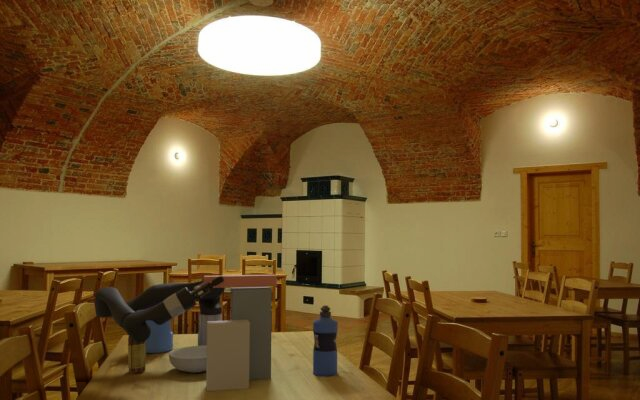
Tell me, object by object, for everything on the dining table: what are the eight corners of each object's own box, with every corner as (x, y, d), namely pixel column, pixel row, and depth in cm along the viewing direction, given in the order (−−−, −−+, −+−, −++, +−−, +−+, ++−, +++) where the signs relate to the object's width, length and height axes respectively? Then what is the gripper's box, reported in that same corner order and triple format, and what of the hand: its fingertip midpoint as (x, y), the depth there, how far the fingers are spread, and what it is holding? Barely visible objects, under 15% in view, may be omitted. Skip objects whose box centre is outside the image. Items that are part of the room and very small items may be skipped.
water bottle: (334, 369, 207) (334, 303, 209) (340, 376, 198) (340, 307, 200) (310, 370, 205) (310, 304, 207) (315, 377, 196) (315, 308, 198)
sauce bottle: (149, 370, 205) (150, 317, 206) (138, 374, 200) (139, 320, 201) (134, 368, 208) (135, 316, 209) (123, 372, 202) (124, 319, 203)
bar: (204, 288, 193) (204, 276, 193) (204, 286, 196) (204, 275, 197) (276, 286, 199) (276, 275, 199) (274, 285, 203) (274, 274, 203)
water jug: (153, 355, 229) (154, 289, 230) (128, 351, 237) (129, 286, 238) (180, 348, 242) (181, 285, 243) (156, 344, 250) (157, 283, 252)
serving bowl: (177, 362, 218) (177, 345, 218) (229, 363, 217) (229, 345, 217) (160, 376, 197) (161, 357, 197) (217, 377, 196) (218, 358, 197)
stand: (206, 391, 179) (208, 294, 181) (205, 376, 197) (206, 288, 199) (275, 386, 185) (276, 292, 187) (267, 372, 202) (268, 286, 204)
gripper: (173, 295, 185) (218, 270, 189) (174, 291, 199) (216, 267, 203) (185, 314, 186) (229, 288, 190) (185, 308, 199) (226, 284, 203)
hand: (222, 277), depth 196 cm, fingers closed on bar, 4 cm apart
